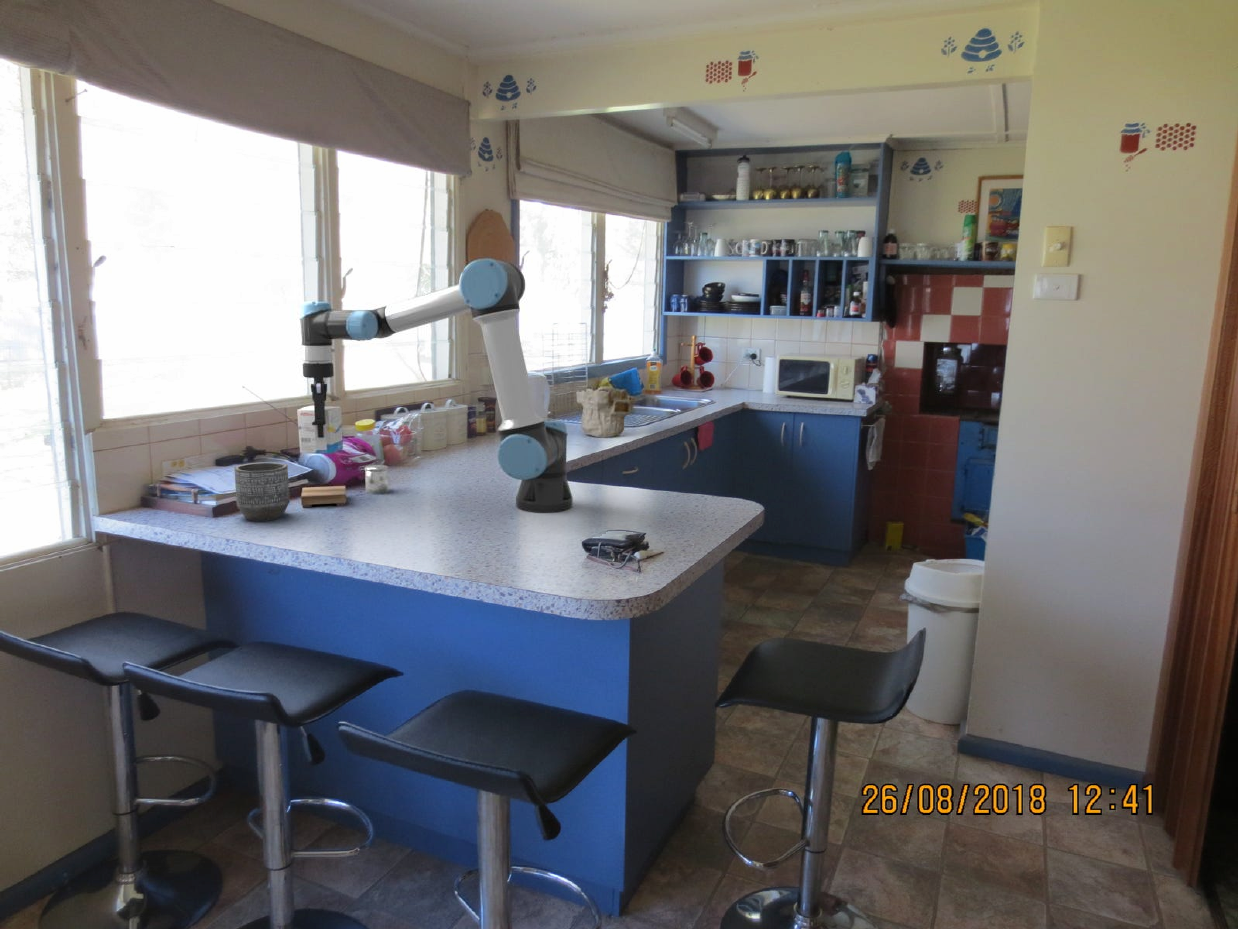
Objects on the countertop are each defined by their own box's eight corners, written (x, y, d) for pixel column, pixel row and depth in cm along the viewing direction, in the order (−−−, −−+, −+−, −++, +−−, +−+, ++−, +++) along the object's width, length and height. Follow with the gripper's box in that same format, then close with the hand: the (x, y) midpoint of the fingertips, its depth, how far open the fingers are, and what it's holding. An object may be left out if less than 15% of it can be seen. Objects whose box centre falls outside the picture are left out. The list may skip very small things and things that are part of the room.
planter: (300, 515, 216) (298, 465, 213) (259, 525, 206) (255, 473, 203) (269, 508, 222) (266, 460, 219) (226, 518, 212) (223, 467, 209)
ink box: (344, 449, 231) (342, 405, 229) (330, 454, 223) (328, 409, 221) (313, 448, 232) (311, 404, 230) (298, 453, 224) (296, 408, 222)
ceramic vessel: (601, 408, 373) (626, 365, 358) (628, 449, 362) (655, 406, 347) (559, 410, 359) (583, 366, 344) (586, 453, 347) (612, 409, 332)
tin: (388, 493, 242) (388, 468, 240) (365, 494, 240) (364, 469, 239) (387, 488, 248) (386, 464, 246) (365, 489, 246) (364, 465, 244)
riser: (346, 505, 227) (345, 494, 226) (301, 507, 223) (301, 496, 223) (345, 496, 237) (345, 485, 236) (303, 498, 234) (302, 487, 233)
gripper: (333, 365, 214) (336, 453, 218) (333, 358, 235) (336, 439, 239) (300, 365, 211) (305, 454, 216) (304, 358, 233) (307, 439, 237)
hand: (321, 446), depth 227 cm, fingers closed on ink box, 10 cm apart
